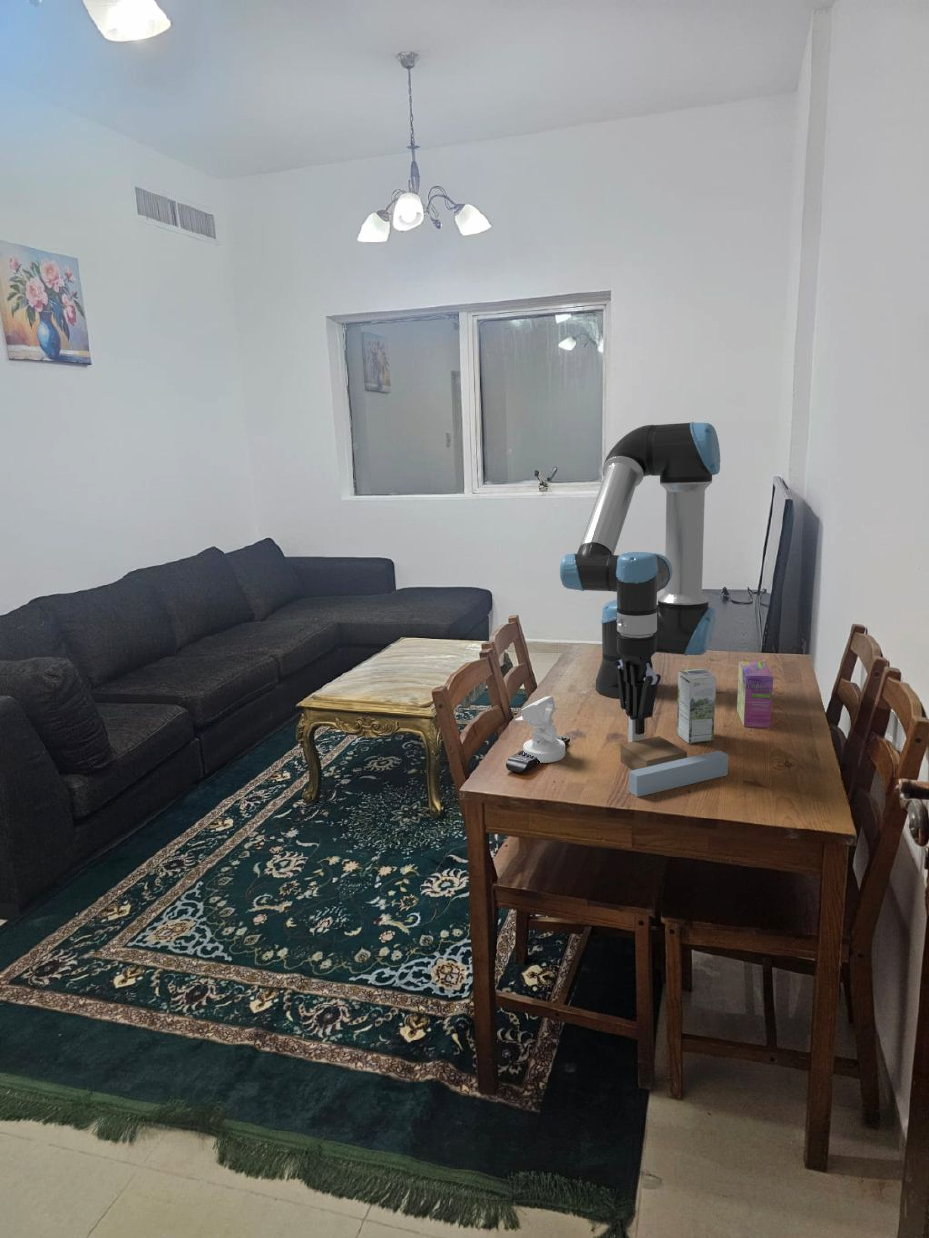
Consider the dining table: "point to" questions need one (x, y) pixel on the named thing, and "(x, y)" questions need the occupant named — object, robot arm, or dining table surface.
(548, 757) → the character figurine
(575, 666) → the dining table surface
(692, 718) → the syrup box
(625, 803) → the dining table surface
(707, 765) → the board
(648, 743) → the block
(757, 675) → the box
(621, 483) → the robot arm
